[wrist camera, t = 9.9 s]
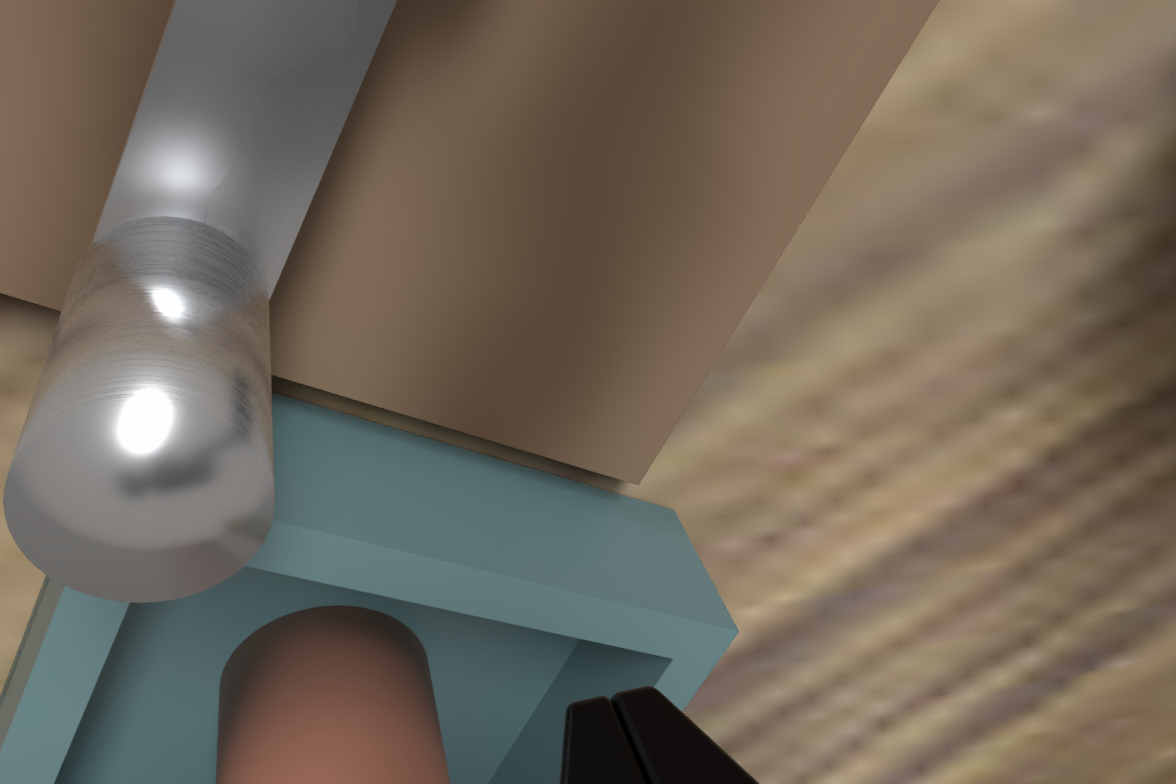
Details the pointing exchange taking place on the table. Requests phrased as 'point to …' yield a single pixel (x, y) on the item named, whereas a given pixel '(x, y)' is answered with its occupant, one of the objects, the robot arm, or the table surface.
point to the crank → (186, 305)
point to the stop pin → (329, 703)
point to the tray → (394, 587)
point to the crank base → (496, 196)
